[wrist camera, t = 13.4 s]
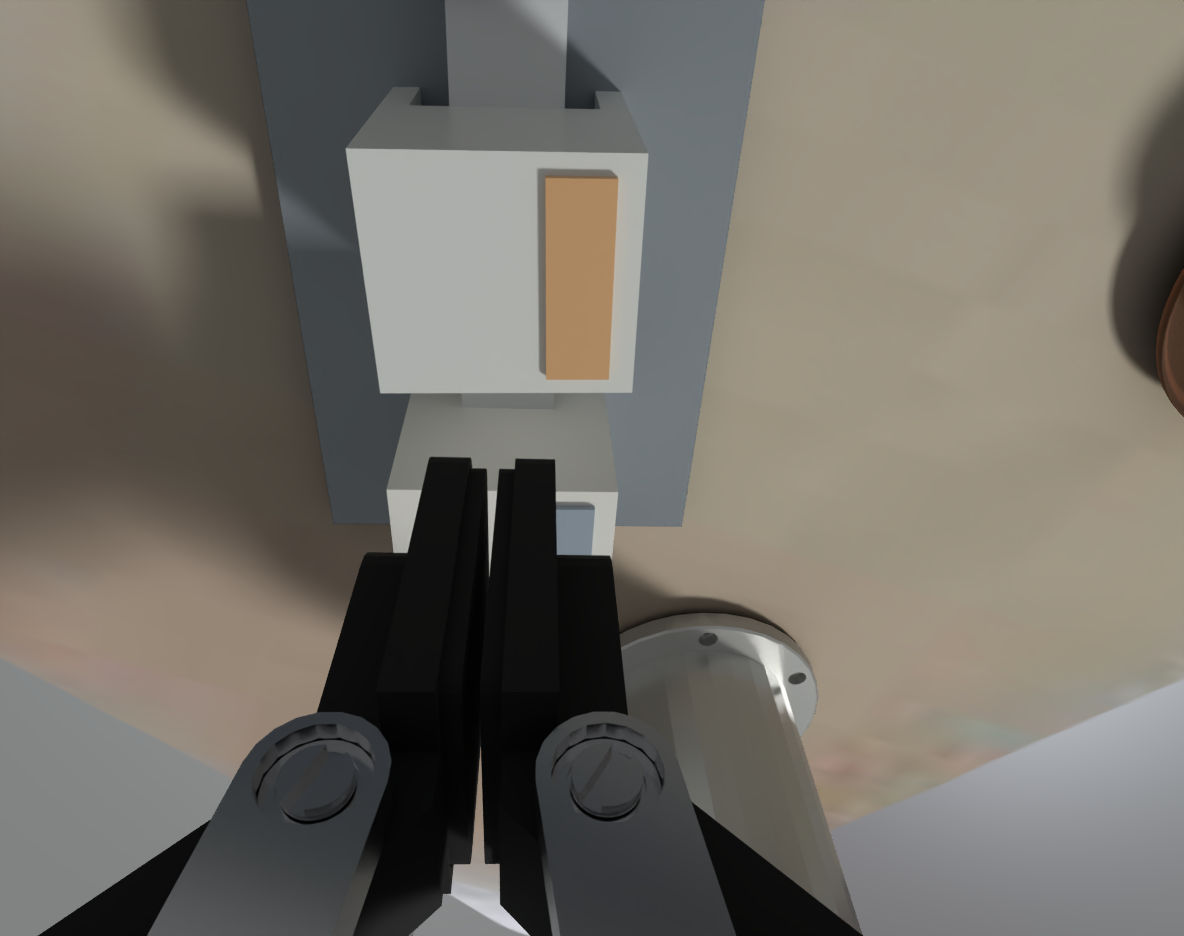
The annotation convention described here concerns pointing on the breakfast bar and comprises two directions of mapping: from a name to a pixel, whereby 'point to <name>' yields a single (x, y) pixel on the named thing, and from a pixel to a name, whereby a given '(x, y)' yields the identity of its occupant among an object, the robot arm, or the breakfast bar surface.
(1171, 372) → the cup and saucer
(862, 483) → the breakfast bar surface
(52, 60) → the breakfast bar surface
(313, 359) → the rail
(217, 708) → the breakfast bar surface
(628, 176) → the block
